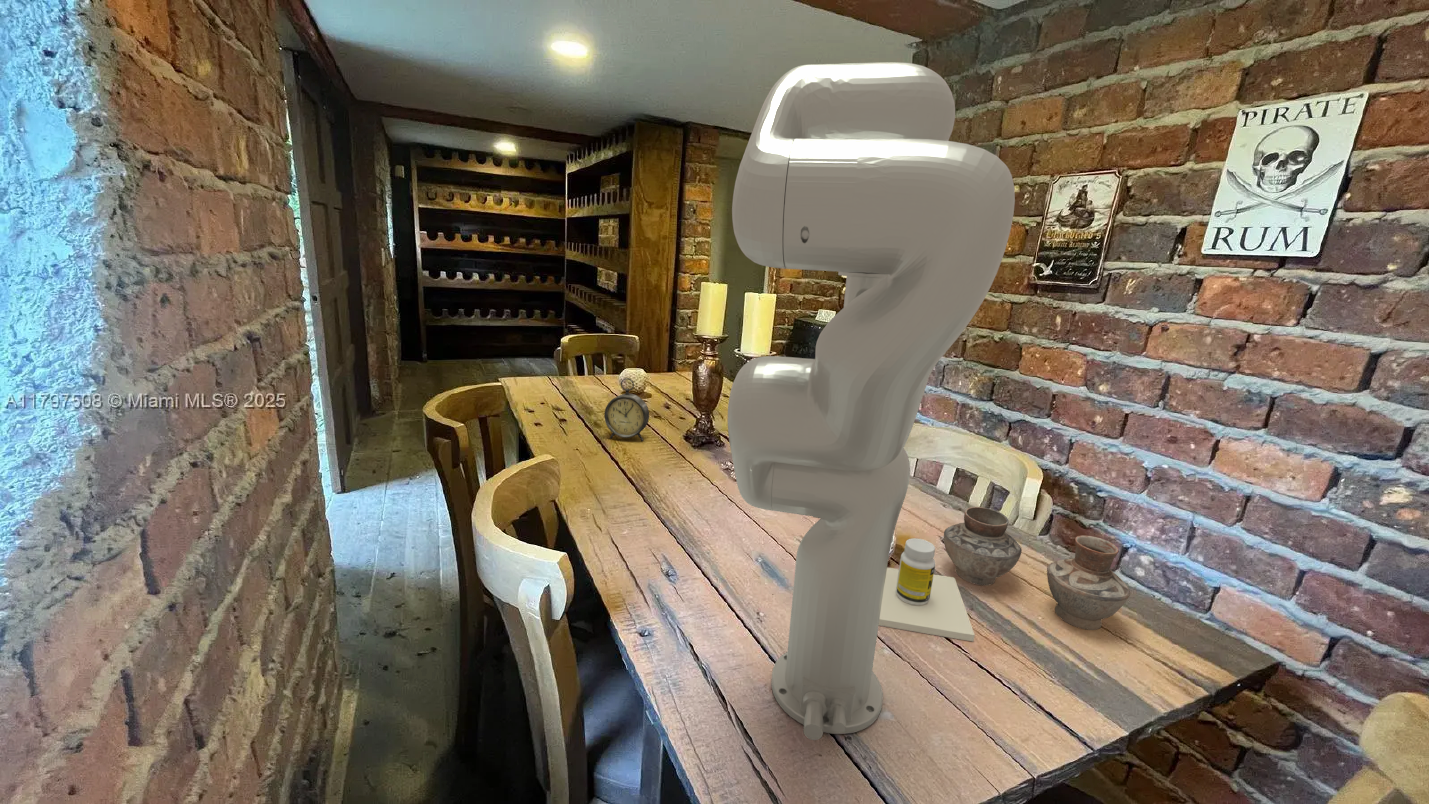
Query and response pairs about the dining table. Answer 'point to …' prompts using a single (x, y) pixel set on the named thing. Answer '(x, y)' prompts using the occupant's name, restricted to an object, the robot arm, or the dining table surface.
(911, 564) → the supplement bottle
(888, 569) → the cream board
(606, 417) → the alarm clock
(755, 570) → the dining table surface
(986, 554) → the pottery
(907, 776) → the dining table surface
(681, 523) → the dining table surface
